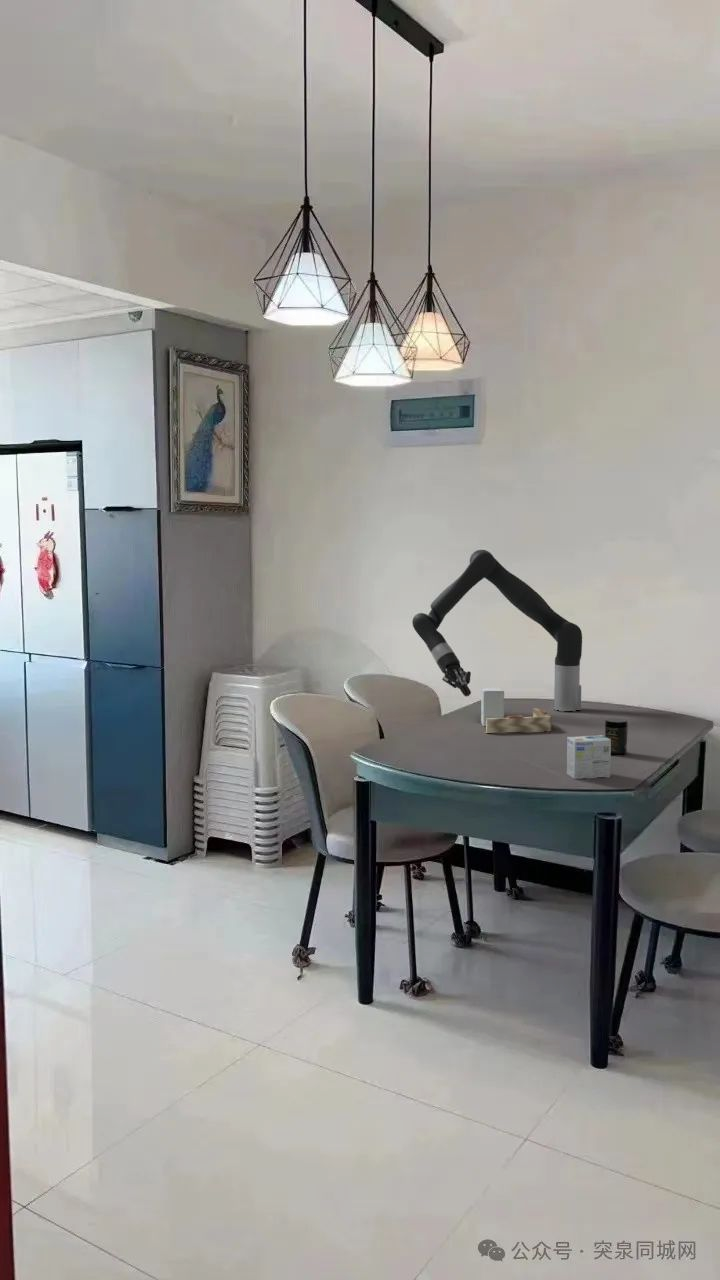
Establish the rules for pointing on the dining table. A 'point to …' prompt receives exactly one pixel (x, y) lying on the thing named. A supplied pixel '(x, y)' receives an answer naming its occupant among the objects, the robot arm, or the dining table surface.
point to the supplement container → (617, 735)
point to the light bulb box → (588, 756)
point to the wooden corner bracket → (520, 723)
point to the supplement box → (492, 704)
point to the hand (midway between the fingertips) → (468, 695)
